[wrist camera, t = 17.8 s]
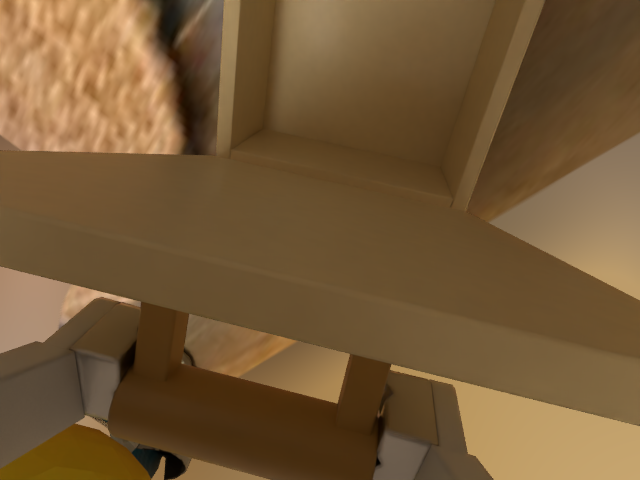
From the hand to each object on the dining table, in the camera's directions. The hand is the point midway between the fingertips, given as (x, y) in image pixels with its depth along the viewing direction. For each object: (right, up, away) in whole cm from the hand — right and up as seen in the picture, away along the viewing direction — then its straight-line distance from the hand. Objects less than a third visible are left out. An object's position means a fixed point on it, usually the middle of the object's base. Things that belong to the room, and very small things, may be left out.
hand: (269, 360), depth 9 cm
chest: (+4, +15, +15) cm, 22 cm away
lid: (+1, +4, +4) cm, 6 cm away
